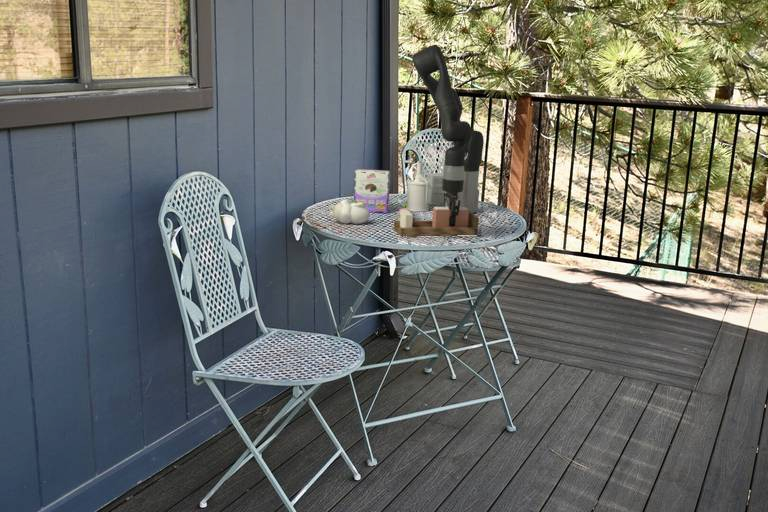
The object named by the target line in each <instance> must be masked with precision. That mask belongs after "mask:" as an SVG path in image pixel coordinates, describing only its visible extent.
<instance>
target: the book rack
mask: <svg viewBox="0 0 768 512" xmlns="http://www.w3.org/2000/svg"><path fill="white" fill-rule="evenodd" d="M432 221H433V220H412V228H401V227H400V219H399V220H397V219H396V220H394V221H393V230H394V231H395V233H396V234H398V235H400V236H402V237H401V238H418V237H417V236H457V235H478V234H479V225H480V224H479V222H480V218H479V217H478V216H477V215H475V213H471V212H470V211H469V215H468V228H434V227H433V226H432ZM400 236H399V237H400ZM403 236H405V237H403ZM406 236H407V237H406ZM478 236H479V235H478Z"/></svg>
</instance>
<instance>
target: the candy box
mask: <svg viewBox="0 0 768 512" xmlns="http://www.w3.org/2000/svg"><path fill="white" fill-rule="evenodd" d="M390 181H391V170H382V169H380V170H379V169H359V168H358V169H355V170H354V182H353V183H354V184H353V186H354V188H353V189H354V190H353V200H361V201H363V203H364V207H365V208H366V209H367V210H368V211H369V213H373V214H374V213H376V214H379V213H380V214H388V213H389V210H390V209H389V207H390V205H389V204H390V187H391V186H390V185H391V184H390ZM353 203H355V202H353Z"/></svg>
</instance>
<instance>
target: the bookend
mask: <svg viewBox="0 0 768 512" xmlns="http://www.w3.org/2000/svg"><path fill="white" fill-rule="evenodd" d="M413 216H414V215H413V213H412V214H411V213H410V212H409V211H408V210H401V212H400V215H399V218H400V219H399V220H400V227H401V228H412V221H414V220H413V218H414V217H413Z"/></svg>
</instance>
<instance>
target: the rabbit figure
mask: <svg viewBox="0 0 768 512" xmlns="http://www.w3.org/2000/svg"><path fill="white" fill-rule="evenodd" d="M406 205H407V202H403V204H402V208H399V211H398V210H396V211H395V213H397V214H398V216H400V212H401V210H408V211H409V212H410V213H411V214H412V215H413V213H412V212H413V211H410V210H409V209H407V208H406V207H407V206H406Z"/></svg>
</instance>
